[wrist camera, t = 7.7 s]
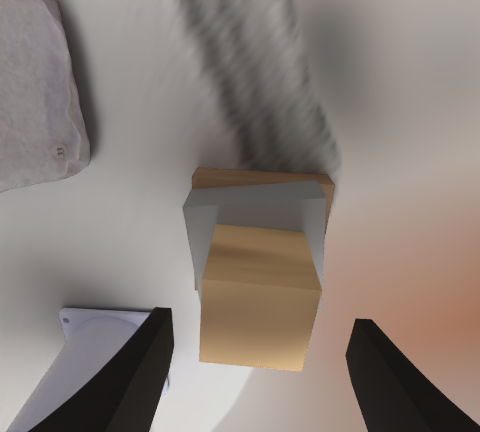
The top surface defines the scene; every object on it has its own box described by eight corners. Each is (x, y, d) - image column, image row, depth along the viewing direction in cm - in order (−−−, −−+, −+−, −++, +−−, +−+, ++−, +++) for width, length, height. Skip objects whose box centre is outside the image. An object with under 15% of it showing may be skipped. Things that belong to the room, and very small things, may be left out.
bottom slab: (307, 274, 23) (313, 297, 20) (200, 268, 23) (194, 290, 20) (325, 171, 19) (334, 184, 17) (198, 164, 19) (191, 177, 17)
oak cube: (290, 300, 17) (301, 371, 13) (212, 293, 17) (199, 361, 13) (304, 232, 15) (322, 290, 11) (215, 223, 15) (201, 279, 11)
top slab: (313, 281, 20) (321, 308, 18) (207, 286, 20) (202, 313, 18) (316, 180, 17) (326, 197, 14) (191, 189, 17) (182, 207, 15)
